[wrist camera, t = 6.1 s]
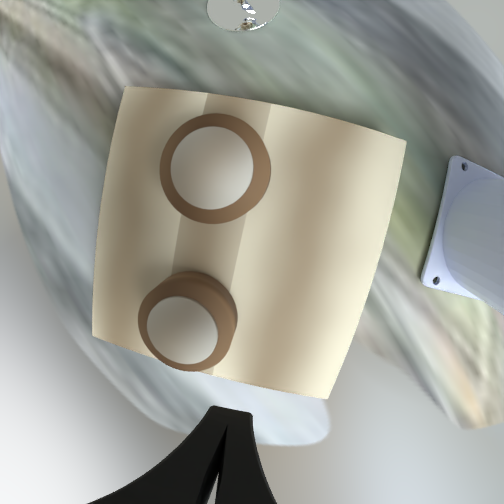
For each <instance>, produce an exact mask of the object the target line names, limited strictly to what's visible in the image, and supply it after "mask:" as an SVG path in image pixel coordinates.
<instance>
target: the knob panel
mask: <svg viewBox="0 0 504 504" xmlns="http://www.w3.org/2000/svg"><path fill="white" fill-rule="evenodd" d="M212 113H220V114H227V115H231V116H234V117H237V118H239V119H241V120H243V121H245V122H246V123H247V124H249V125H250V126H251V127H252V128H253V129H254V130H255V131H256V132H257V133H258V134H259V136H260V137H261V139H262V141H263V142H264V144H265V147H266V149H267V151H268V154H269V157H270V162H271V177H270V182H269V185H268V188H267V190H266V193H265V194H264V196H263V197H262V199H261V200H260V201H259V203H258V204H257V205H256V206H255V207H254V208H252V209H251V210H250V211H248V212H247V213H246V214H244V215H243V216H241V217H239V218H237V219H235V220H233V221H230V222H226V223H222V224H205V223H200V222H196V221H193V220H191V219H189V218H187V217H185V216H184V215H182V214H181V213H180V212H178V211H177V210H176V209H175V208H174V207H173V206H172V205H171V203H170V202H169V200H168V199H167V197H166V195H165V193H164V191H163V188H162V185H161V181H160V173H159V170H160V159H161V155H162V152H163V149H164V147H165V145H166V143H167V141H168V139H169V138H170V137H171V135H172V134H173V133H174V132H175V131H176V130H177V129H178V128H179V127H180V126H181V125H183V124H184V123H185V122H187V121H189V120H191V119H193V118H195V117H198V116H201V115H205V114H212ZM406 143H407V141H405V140H402V139H399V138H396V137H393V136H390V135H388V134H385V133H382V132H379V131H375V130H372V129H369V128H366V127H363V126H359V125H356V124H353V123H349V122H346V121H342V120H339V119H335V118H331V117H328V116H324V115H320V114H316V113H312V112H308V111H304V110H299V109H295V108H291V107H286V106H281V105H276V104H271V103H266V102H261V101H256V100H250V99H244V98H238V97H232V96H225V95H219V94H211V93H203V92H195V91H186V90H176V89H164V88H150V87H131V86H125V89H124V92H123V96H122V100H121V104H120V108H119V112H118V116H117V120H116V124H115V128H114V133H113V137H112V142H111V147H110V152H109V157H108V162H107V168H106V174H105V179H104V186H103V192H102V199H101V206H100V214H99V222H98V231H97V241H96V252H95V265H94V282H93V311H92V336H95V337H97V338H100V339H102V340H105V341H107V342H110V343H113V344H115V345H118V346H121V347H124V348H126V349H129V350H132V351H135V352H138V353H141V354H144V355H146V356H149V357H152V358H156V357H155V356H154V355H153V354H152V353H151V352H150V351H149V349H148V348H147V347H146V345H145V344H144V342H143V340H142V338H141V335H140V332H139V328H138V312H139V308H140V305H141V303H142V301H143V299H144V298H145V297H146V295H147V294H148V293H149V292H150V291H152V290H153V289H154V288H155V287H156V286H158V285H159V284H160V283H161V282H162V281H164V280H165V279H166V278H168V277H169V276H171V275H173V274H176V273H179V272H185V271H194V272H200V273H203V274H206V275H209V276H211V277H213V278H214V279H216V280H217V281H219V282H220V283H221V284H222V285H223V286H224V287H225V288H226V289H227V290H228V291H229V292H230V294H231V296H232V297H233V299H234V302H235V304H236V308H237V313H238V322H237V327H236V330H235V333H234V336H233V339H232V342H231V345H230V348H229V350H228V352H227V354H226V356H225V357H224V358H223V359H222V360H221V361H220V362H219V363H218V364H216V365H215V366H213V367H211V368H209V369H206V370H202V371H198V372H202V373H206V374H209V375H213V376H217V377H221V378H225V379H229V380H233V381H237V382H241V383H245V384H250V385H254V386H259V387H263V388H268V389H273V390H278V391H283V392H288V393H293V394H299V395H304V396H310V397H316V398H323V399H328V397H329V394H330V392H331V390H332V388H333V385H334V383H335V381H336V378H337V376H338V373H339V371H340V369H341V366H342V364H343V361H344V359H345V356H346V354H347V351H348V349H349V346H350V343H351V341H352V338H353V336H354V333H355V330H356V327H357V325H358V322H359V319H360V316H361V313H362V311H363V308H364V305H365V302H366V299H367V296H368V293H369V290H370V287H371V284H372V280H373V277H374V274H375V271H376V268H377V264H378V261H379V258H380V254H381V251H382V247H383V244H384V240H385V236H386V233H387V229H388V225H389V221H390V217H391V213H392V209H393V205H394V201H395V197H396V192H397V188H398V183H399V179H400V174H401V169H402V164H403V159H404V154H405V148H406ZM156 359H157V358H156Z"/></svg>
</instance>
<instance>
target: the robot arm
mask: <svg viewBox="0 0 504 504" xmlns="http://www.w3.org/2000/svg"><path fill="white" fill-rule="evenodd" d="M462 163H463V164H464V165H465V169H464V171H463V170H462V166H461V165H462ZM435 277H437V281H436V282H435V283H433V279H434V278H435ZM421 282H422V284H423V285H425V286H426V287H430V288H434V289H438V290H442V291H446V292H450V293H454V294H458V295H462V296H466V297H470V298H474V299H478V300H482V301H484V302H485V303H487V304H488V305H489V306H491V307H492V308H494V309H495V310H497V311H498V312H500V313H501V314H502V315H504V178H503V177H501V176H500V175H498V174H496V173H494V172H492V171H490V170H488V169H486V168H484V167H482V166H480V165H478V164H476V163H473V162H471V161H469V160H467V159H465V158H463V157H460V156H452V157H451V158H450V160H449V165H448V171H447V176H446V181H445V186H444V191H443V196H442V200H441V205H440V209H439V213H438V218H437V222H436V226H435V229H434V233H433V237H432V241H431V244H430V248H429V251H428V255H427V258H426V261H425V265H424V268H423V271H422V274H421ZM218 473H219V475H218ZM217 475H218V483H217V491H216V499H215V504H277V503H276V501H275V499H274V497H273V494H272V492H271V490H270V488H269V485H268V482H267V480H266V477H265V474H264V472H263V468H262V465H261V462H260V458H259V455H258V452H257V447H256V442H255V437H254V431H253V416H252V414H251V413H249V412H243V411H238V410H233V409H228V408H223V407H219V406H214V405H213V406H211V407H210V408H209V409H208V411H207V413H206V414H205V416H204V417H203V419H202V420H201V421H200V422H199V424H198V425H197V426H196V427H195V429H194V430H193V431H192V432H191V433H190V434H189V435H188V436H187V437H186V439H185V440H184V441H183V442H182V443H181V444H180V445H179V446H178V447H177V448H176V449H175V450H173V451H172V452H171V453H170V454H169V455H168V456H167V457H166V458H165V459H163V460H162V461H161V462H160V463H159V464H157V465H156V466H155V467H153V468H152V469H151V470H149V471H148V472H146V473H145V474H144V475H142V476H141V477H139V478H138V479H136V480H134V481H133V482H131V483H129V484H128V485H126V486H124V487H123V488H121V489H119V490H117V491H115V492H113V493H111V494H109V495H106V496H104V497H102V498H100V499H98V500H95V501H93V502H90V503H88V504H207V502H208V499H209V497H210V494H211V492H212V489H213V486H214V483H215V481H216V478H217Z"/></svg>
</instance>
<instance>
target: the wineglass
mask: <svg viewBox="0 0 504 504" xmlns="http://www.w3.org/2000/svg"><path fill="white" fill-rule="evenodd" d="M279 8H280V0H208V3H207V14H208V16H209V18H210V20H211V21H212V22H213V23H214V24H215V25H216V26H218V27H220V28H222V29H224V30H228V31H233V32H247V31H252V30H256V29H259V28H261V27H263V26H265V25H267V24H268V23H269V22H271V21H272V20H273V19H274V18H275V16H276V15H277V13H278V11H279Z"/></svg>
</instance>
